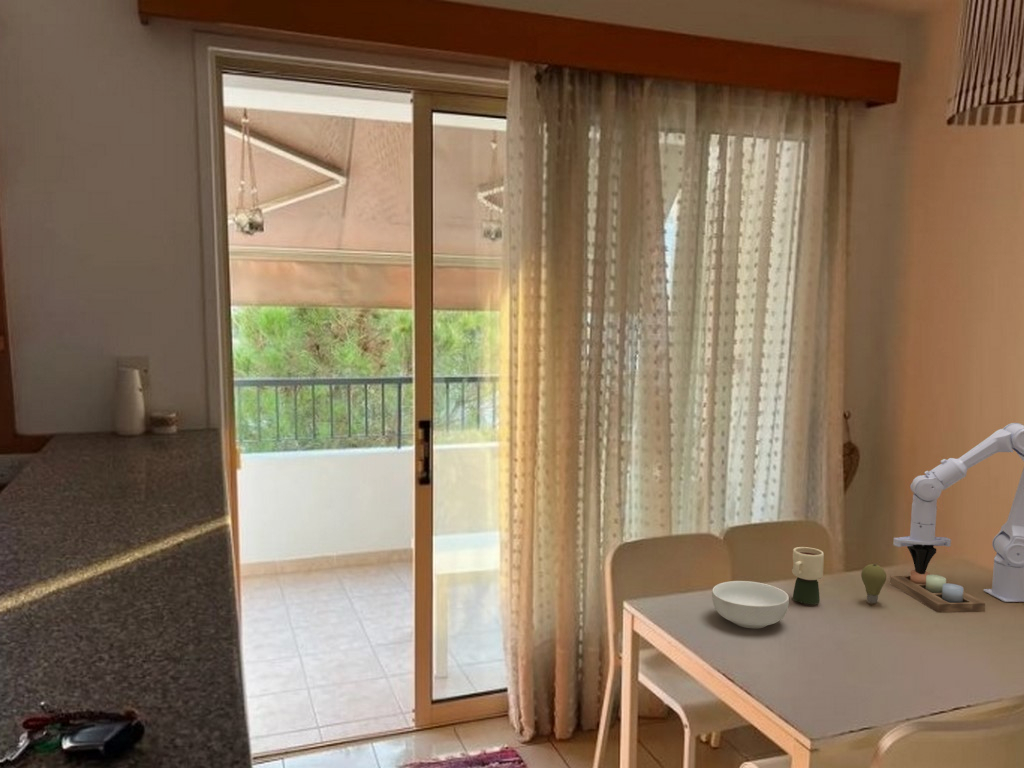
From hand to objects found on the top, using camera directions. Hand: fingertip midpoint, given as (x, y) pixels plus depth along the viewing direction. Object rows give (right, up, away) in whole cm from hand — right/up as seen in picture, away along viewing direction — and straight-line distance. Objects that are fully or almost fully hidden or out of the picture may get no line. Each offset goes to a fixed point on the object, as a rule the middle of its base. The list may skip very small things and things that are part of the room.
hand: (920, 572), depth 200 cm
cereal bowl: (-52, -6, -23) cm, 58 cm away
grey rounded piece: (+1, -4, -13) cm, 13 cm away
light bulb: (-18, -5, -12) cm, 22 cm away
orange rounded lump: (0, -3, 0) cm, 3 cm away
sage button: (+1, -3, -6) cm, 7 cm away
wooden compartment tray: (+1, -5, -6) cm, 8 cm away
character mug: (-34, -5, -11) cm, 36 cm away
